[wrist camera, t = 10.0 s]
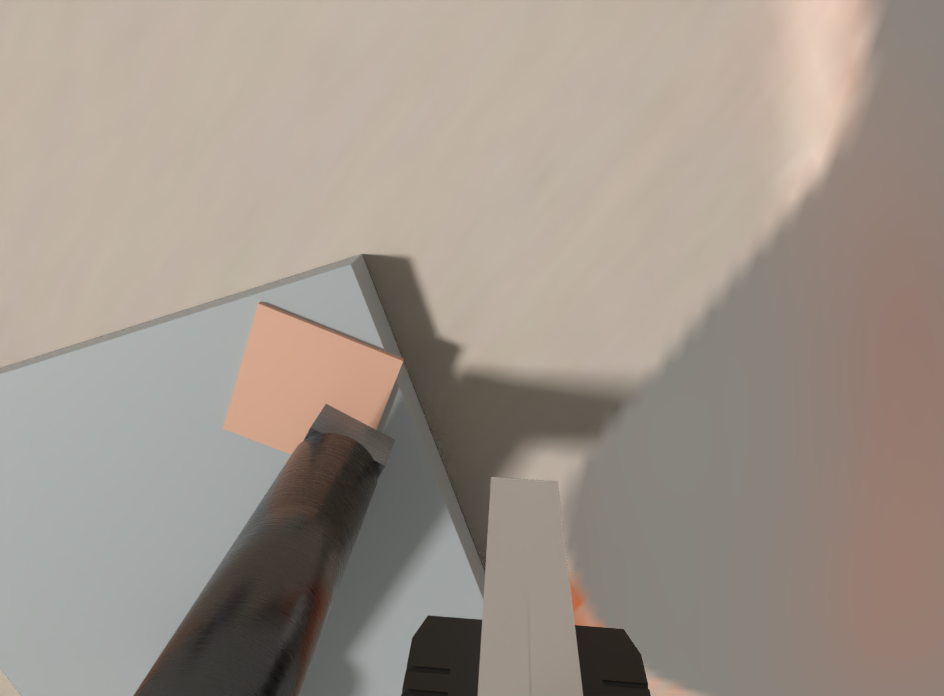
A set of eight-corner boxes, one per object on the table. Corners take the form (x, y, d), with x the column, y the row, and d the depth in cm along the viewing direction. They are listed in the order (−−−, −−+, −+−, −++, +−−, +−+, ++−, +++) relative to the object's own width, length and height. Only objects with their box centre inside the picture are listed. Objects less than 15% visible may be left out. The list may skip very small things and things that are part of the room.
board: (549, 738, 28) (551, 771, 26) (146, 801, 32) (129, 833, 30) (361, 254, 20) (350, 264, 19) (-145, 413, 24) (-186, 432, 22)
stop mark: (358, 476, 21) (356, 479, 21) (225, 426, 21) (222, 428, 21) (404, 359, 20) (403, 361, 20) (260, 301, 19) (258, 303, 19)
